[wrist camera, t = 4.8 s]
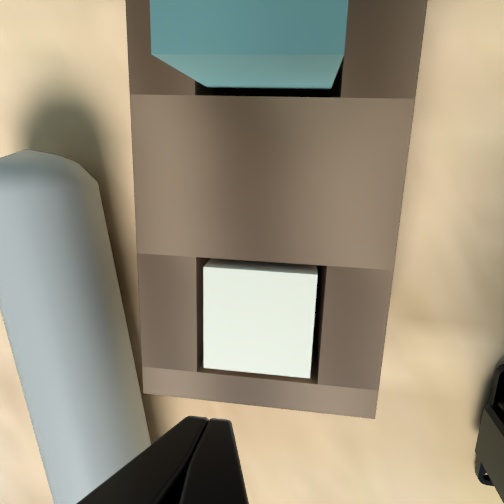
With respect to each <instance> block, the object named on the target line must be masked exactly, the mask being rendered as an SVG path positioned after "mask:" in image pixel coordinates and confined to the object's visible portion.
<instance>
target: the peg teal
mask: <svg viewBox="0 0 504 504" xmlns="http://www.w3.org/2000/svg"><path fill="white" fill-rule="evenodd" d="M347 13H348V0H150V26H151V54H152V55H153V56H155V57H157V58H158V59H160V60H162V61H164V62H165V63H167V64H169V65H170V66H172V67H174V68H175V69H177V70H179V71H180V72H182V73H184V74H186V75H187V76H189V77H191V78H192V79H194V80H196V81H197V82H199V83H201V84H202V85H204V86H206V87H208V88H268V89H331V87H332V85H333V82H334V80H335V77H336V74H337V72H338V69H339V67H340V64H341V62H342V59H343V56H344V50H345V38H346V25H347Z"/></svg>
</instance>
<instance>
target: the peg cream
mask: <svg viewBox="0 0 504 504" xmlns="http://www.w3.org/2000/svg"><path fill="white" fill-rule="evenodd" d="M317 277H318V272H317V265H308V264H293V263H278V262H262V261H247V260H232V259H217V258H211V259H210V260H209V261H208V262H207V263H206V264H205V266H204V267H203V343H204V368H210V369H220V370H230V371H240V372H250V373H260V374H270V375H280V376H290V377H300V378H310V371H311V357H312V344H313V331H314V317H315V304H316V291H317Z"/></svg>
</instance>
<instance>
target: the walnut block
mask: <svg viewBox="0 0 504 504" xmlns="http://www.w3.org/2000/svg"><path fill="white" fill-rule="evenodd" d="M426 8H427V0H348V13H347V25H346V38H345V50H344V56H343V59H342V62H341V64H340V67H339V69H338V72H337V74H336V77H335V80H334V87H333V98H331V97H266V96H226V88H208V87H206V86H204V85H202V84H201V83H199V82H197V81H196V80H194V79H192V78H191V77H189V76H187V75H186V74H184V73H182V72H180V71H179V70H177V69H175V68H174V67H172V66H170V65H169V64H167V63H165V62H164V61H162V60H160V59H158V58H157V57H155V56H153V55H152V54H151V26H150V0H126V21H127V43H128V65H129V87H130V109H131V131H132V153H133V175H134V197H135V219H136V241H137V263H138V285H139V307H140V329H141V351H142V373H143V393H145V394H154V395H163V396H172V397H181V398H190V399H199V400H208V401H217V402H226V403H235V404H244V405H253V406H262V407H272V408H281V409H290V410H299V411H308V412H317V413H326V414H335V415H344V416H353V417H362V418H371V419H375V414H376V406H377V399H378V391H379V383H380V375H381V367H382V359H383V351H384V343H385V335H386V327H387V319H388V311H389V303H390V295H391V287H392V279H393V271H394V263H395V255H396V247H397V239H398V231H399V223H400V215H401V207H402V199H403V191H404V183H405V175H406V167H407V159H408V151H409V143H410V135H411V127H412V119H413V111H414V103H415V96H416V88H417V80H418V72H419V64H420V56H421V48H422V40H423V32H424V24H425V16H426ZM211 258H217V259H232V260H247V261H262V262H278V263H293V264H308V265H320V271H319V284H318V297H317V310H316V324H315V327H314V331H313V344H312V357H311V371H310V378H300V377H290V376H280V375H270V374H260V373H250V372H240V371H230V370H220V369H210V368H204V343H203V267H204V266H205V264H206V263H207V262H208V261H209V260H210V259H211Z"/></svg>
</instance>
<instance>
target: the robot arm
mask: <svg viewBox="0 0 504 504" xmlns="http://www.w3.org/2000/svg"><path fill="white" fill-rule="evenodd" d="M475 452H476V454H477V455H478V457H477V462H476V466H475V473H476V475H477V477H478V479H479V481H480V482H481V483H482V484H485V485H490V486H495V488H496V490H497V492H498V494H499V496H500V497H501V499H502V501H503V503H504V364H503V365H501V366H499V367H498V368H497V369H496V371H495V375H494V380H493V384H492V389H491V394H490V399H489V404H488V405H487V406H486V407H485V408H484V410H483V414H482V419H481V424H480V429H479V434H478V439H477V444H476V449H475ZM485 473H487V474H488V475H484V474H485ZM76 504H249V502H248V497H247V493H246V488H245V484H244V479H243V474H242V470H241V465H240V460H239V456H238V451H237V446H236V442H235V437H234V432H233V428H232V423H231V421H230V420H225V419H216V418H212V419H210V420H208V419H207V418H206V417H197V416H188V417H186V418H184V419H183V420H182V421H181V422H179V423H178V424H177V425H175V426H174V427H173V428H172V429H170V430H169V431H168V432H167V433H165V434H164V435H163V436H162V437H160V438H159V439H158V440H156V441H155V442H154V443H153V444H151V445H150V446H149V447H148V448H146V449H145V450H144V451H142V452H141V453H140V454H139V455H137V456H136V457H135V458H134V459H132V460H131V461H130V462H129V463H127V464H126V465H125V466H123V467H122V468H121V469H120V470H118V471H117V472H116V473H115V474H113V475H112V476H111V477H109V478H108V479H107V480H106V481H104V482H103V483H102V484H101V485H99V486H98V487H97V488H95V489H94V490H93V491H92V492H90V493H89V494H88V495H87V496H85V497H84V498H83V499H82V500H80V501H79V502H78V503H76Z"/></svg>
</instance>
